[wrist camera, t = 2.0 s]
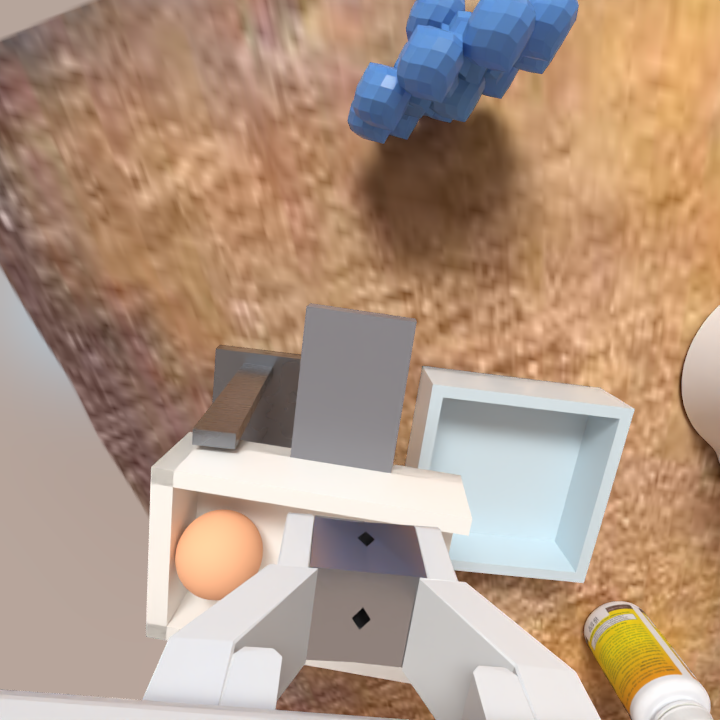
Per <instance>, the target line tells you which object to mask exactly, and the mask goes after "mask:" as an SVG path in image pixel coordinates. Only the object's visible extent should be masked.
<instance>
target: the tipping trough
mask: <svg viewBox="0 0 720 720" xmlns="http://www.w3.org/2000/svg"><path fill="white" fill-rule="evenodd" d="M415 328H416V319H414V318H407V317H400V316H393V315H387V314H380V313H373V312H366V311H359V310H352V309H346V308H339V307H332V306H325V305H318V304H312V303H310V304H309V305H308V306H307V308H306V317H305V326H304V335H303V344H302V354H301V363H300V372H299V381H298V390H297V400H296V409H295V418H294V427H293V436H292V446H291V448H287V447H280V446H274V445H268V444H261V443H255V442H249V441H243V440H239V442H238V444H237V446H236V448H235V449H227V448H218V447H209V446H200V445H192V436H193V433H192V432H189V433H188V434H187V435H186V436H185V437H183V438H182V439H181V440H180V441H179V442H178V443H177V444H176V445H175V446H174V447H173V448H171V449H170V450H169V451H168V452H167V453H166V454H165V455H164V456H163V457H162V458H161V459H160V460H158V461H157V462H156V463H155V464H154V465H153V466H152V467H151V489H150V521H149V554H148V584H147V618H146V637H151V638H156V639H162V640H168V639H169V637H171V636H172V635H173V634H175V633H176V632H177V631H179V630H180V629H181V628H183V627H184V626H186V625H187V624H188V623H190V622H191V621H192V620H194V619H195V618H196V617H198V616H199V615H201V614H202V613H203V612H205V611H206V610H207V609H209V608H210V607H211V606H213V605H214V604H216V603H217V602H218V601H220V600H207V599H203V598H200V597H198V596H195V595H194V594H192V593H191V592H190V591H189V590H188V589H186V588H185V586H184V585H183V584H182V582H181V581H180V579H179V577H178V574H177V570H176V565H175V554H176V548H177V545H178V542H179V540H180V537H181V535H182V534H183V532H184V531H185V529H186V528H187V527H188V526H189V525H190V524H191V523H192V522H193V521H194V520H195V519H196V518H198V517H200V516H201V515H203V514H205V513H207V512H210V511H214V510H221V509H225V510H233V511H236V512H239V513H241V514H243V515H245V516H246V517H248V518H249V519H250V520H251V521H252V522H253V523H254V524H255V526H256V527H257V529H258V531H259V533H260V535H261V538H262V543H263V557H262V562H261V565H260V568H259V570H258V572H259V571H261V570H262V569H263V568H265V567H266V566H267V565H269V564H277V563H278V558H279V553H280V548H281V543H282V538H283V533H284V528H285V523H286V518H287V515H288V513H301V514H312V515H313V516H315V515H318V516H326V517H334V518H343V519H351V520H359V521H364V522H372V523H386V524H399V525H414V526H430V527H438V528H439V529H440V530H441V533H442V536H443V538H444V541H445V544H446V547H447V550H448V553H449V550H450V545H451V541H452V536H453V533H455V534H461V535H467V536H469V532H470V528H471V523H472V516H471V513H470V509H469V505H468V501H467V498H466V494H465V490H464V486H463V482H462V479H461V475H456V474H450V473H444V472H437V471H431V470H425V469H419V468H412V467H406V466H400V465H393V460H394V454H395V448H396V442H397V436H398V430H399V424H400V418H401V412H402V406H403V400H404V394H405V388H406V382H407V376H408V370H409V364H410V358H411V352H412V346H413V340H414V334H415ZM304 665H308V666H314V667H319V668H325V669H331V670H336V671H342V672H348V673H353V674H359V675H365V676H370V677H376V678H381V679H387V680H393V681H398V682H404V683H410V681H409V680H408V678H407V677H406V675H405V674H404V672H403V671H402V668H400V667H391V666H382V665H373V664H364V663H355V662H338V661H318V660H306V663H305V664H304ZM410 684H411V683H410Z"/></svg>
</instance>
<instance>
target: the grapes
mask: <svg viewBox="0 0 720 720" xmlns="http://www.w3.org/2000/svg"><path fill="white" fill-rule="evenodd" d="M578 6H579V5H578V2H577V0H480V1H479V3H478V4H477V6H476V8H475V9H474V11H473V13H471V12H467V11H465V0H416V1H415V3H414V5H413V7H412V9H411V11H410V15H409V18H408V21H407V26H406V32H407V38H408V42H407V43H406V44H405V46H404V47H403V49H402V51H401V53H400V55H399V58H398V59H397V61H396V63H395V65H394V68H393V67H389V66H386V65H382V64H377V63H371V62H370V64H369V65H368V67H367V69H366V71H365V72H364V74H363V76H362V78H361V80H360V82H359V83H358V85H357V88H356V92H355V96H354V100H353V102H352V104H351V108H350V112H349V116H348V124H349V126H350V129H351V130H352V131H353V132H354V133H356V134H357V135H359V136H361V137H362V138H364V139H368V140H371V141H375V142H379V143H382V144H384V143H385V141H386V139H387V138H388V136H389V135H391V136H395V137H399V138H402V139H406V140H407V139H408V138H409V136H410V134H411V133H412V131H413V130H414V128H415V126H416V124H417V123H418V121H419V118H422V116H423V115H424V116H428V117H430V118H433V119H436V120H440V121H444V122H449V123H451V122H452V120H458V121H462V122H466V120H467V119H468V117H469V116H470V114H471V113H472V111H473V110H474V108H475V106H476V104H477V103H478V101H479V99H480V97H481V95H482V94H483V95H486V96H490V97H495V98H500V99H501V98H502V97H503V95H504V94H505V92H506V91H507V90H508V88H509V87H510V85H511V83H512V81H513V80H514V78H515V76H516V74H517V72H518V70H519V69H520V70H524V71H527V72H532V73H539V74H542V73H543V72H544V71H545V69H546V68H547V67H548V65H549V64H550V62H551V61H552V59H553V58H554V56H555V54H556V52H557V51H558V49H559V48H560V46H561V45H562V43H563V41H564V39H565V38H566V36H567V34H568V33H569V31H570V29H571V27H572V26H573V24H574V22H575V20H576V17H577V12H578Z"/></svg>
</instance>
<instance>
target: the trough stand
mask: <svg viewBox="0 0 720 720" xmlns="http://www.w3.org/2000/svg"><path fill="white" fill-rule="evenodd" d="M300 363H301V355H299V354H291V353H283V352H275V351H267V350H258V349H250V348H242V347H234V346H226V345H219V346H218V347H217V348H216V356H215V372H214V388H213V403H212V405H211V406H210V408H209V409H208V410H207V411H206V413H205V414H204V415H203V417H202V418H201V419H200V420H199V422H198V423H197V424H196V425H195V427H194V428H193V436H192V445H200V446H209V447H218V448H227V449H235V448H236V446H237V444H238V442H239V440H243V441H249V442H255V443H261V444H268V445H274V446H280V447H287V448H291V446H292V436H293V427H294V418H295V409H296V400H297V390H298V381H299V372H300Z"/></svg>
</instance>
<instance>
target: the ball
mask: <svg viewBox="0 0 720 720" xmlns="http://www.w3.org/2000/svg"><path fill="white" fill-rule="evenodd" d="M262 557H263V543H262V538H261V535H260V533H259V531H258V529H257V527H256V526H255V524H254V523H253V522H252V521H251V520H250V519H249V518H248V517H246V516H245V515H243V514H241V513H239V512H236V511H233V510H225V509H221V510H214V511H210V512H207V513H205V514H203V515H201V516H200V517H198V518H196V519H195V520H194V521H193V522H192V523H191V524H190V525H189V526H188V527H187V528H186V529H185V531H184V532H183V534H182V535H181V537H180V540H179V542H178V545H177V548H176V554H175V565H176V570H177V574H178V577H179V579H180V581H181V582H182V584H183V585H184V586H185V588H186V589H188V590H189V591H190V592H191V593H192V594H194V595H195V596H198V597H200V598H203V599H207V600H221V599H222V598H224V597H225V596H226V595H228V594H229V593H231V592H232V591H233V590H235V589H236V588H237V587H239V586H240V585H241V584H243V583H244V582H246V581H247V580H248V579H250V578H251V577H252V576H254V575H255V574H256V573H258V570H259V568H260V565H261V562H262Z"/></svg>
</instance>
